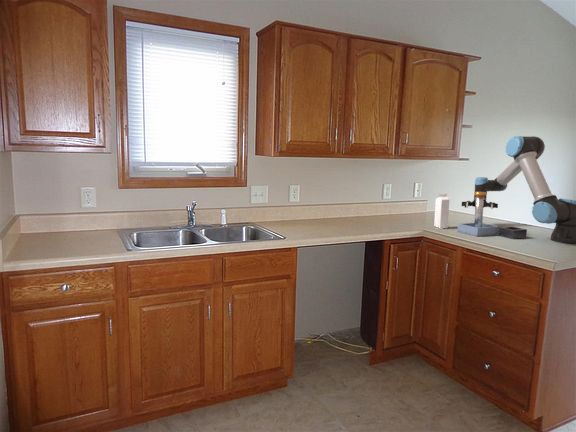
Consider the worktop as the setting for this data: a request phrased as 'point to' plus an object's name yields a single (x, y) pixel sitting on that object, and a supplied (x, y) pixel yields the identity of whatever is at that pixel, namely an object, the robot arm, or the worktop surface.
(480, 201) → the pin
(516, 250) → the worktop surface
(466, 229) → the tray
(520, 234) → the hitch block
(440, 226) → the milk
